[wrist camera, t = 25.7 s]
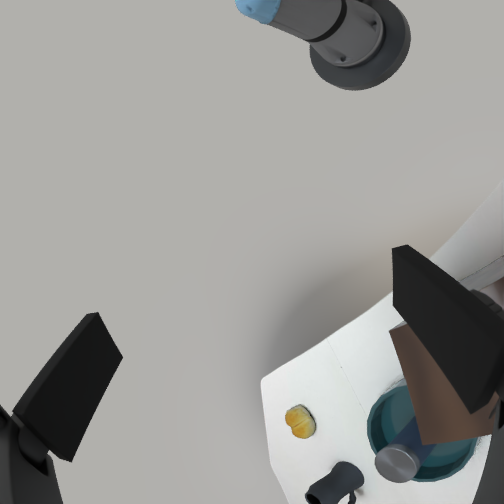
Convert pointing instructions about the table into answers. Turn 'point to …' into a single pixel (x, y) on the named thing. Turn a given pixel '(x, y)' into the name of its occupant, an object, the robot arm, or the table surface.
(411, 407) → the round teal tray
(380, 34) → the robot arm
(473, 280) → the brown wooden block
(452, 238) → the table surface
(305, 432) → the bread roll
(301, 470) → the table surface
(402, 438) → the tin
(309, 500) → the mug
